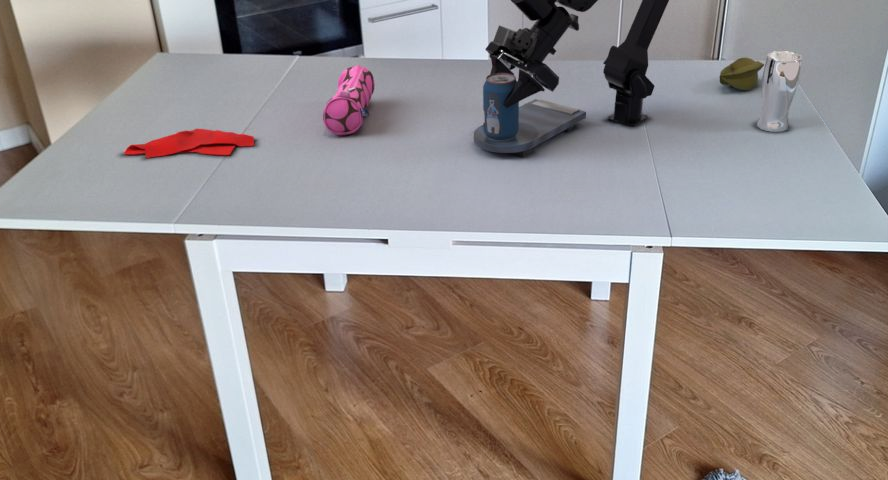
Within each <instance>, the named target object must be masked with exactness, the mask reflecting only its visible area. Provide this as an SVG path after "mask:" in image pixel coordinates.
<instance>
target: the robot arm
mask: <svg viewBox="0 0 888 480" xmlns="http://www.w3.org/2000/svg"><path fill="white" fill-rule="evenodd" d="M598 1H599V0H510V2H511V3H512V4H514V6H515V7H516V8H517V9H518V10H519V11H520V12H521V13H522V14H523V15H524V16H525V17H526V18H527V19H528V20H529V21H531V22H534V21H535V22H534V23H533V25H532V26H531V27H530V28H528V27H525V28H523V29H522V28H518V29H517V30H514V29H511V28H507V27H505V26H502V25H498V26H497V29H496V32H495V35H494V38H493V40H492V41H490V42H489V43H488V45H487V46H486V48H485V52H487V53H488V54H489V56H488V57H489V59H490V61H491V70H490V72H489V75H490V74H494V73H509V74H512V75H514V76H515V73H514V72H513V71H512V70H514V69H516V68H518V78H517V80H516V81H517V83H516V84H515V86H514V87H513V89H512V90H511V92H510V93H509V95H508V96H507V98H506V100H505V102H504V103H503V105H504V106H505V107H506V108H508V107H510V106H512V105H514V104H515V103H517V102H519V103H520V102H521V101H523V100H525V99H527V98H528V97H532V96H533V95H535V94H538V93H540V92H545V91H546V89H547V90H548V91H550V92H552V93H554V91H555V90H556V88H557V87H558V86H559V84H560V76H558V74H557V73H555V71H553V70H552V69H551V67H549V66H548V65H547V64H546V63H544V62H545V59H546V58H547V57H548V55H552V56H554V55H556V52H557V49H555V46H556V45H557V43H559V41H560V40H561V39H562V37H563V36H564V34H565V33H566V32H567V30H568V29H570V30H571V29H572V30H574V31H575V32H578V31H579V30H580V24H579V16H578V15H577V14H574V13H570V12H569V11H568V9H570V10H572V11H576V12H580V13H585V12H587V11H589V10H590V9H591V8H592V7H593V6H594V5H595V4H596V3H597V2H598ZM669 2H670V0H641V3H640V4H639V7H638V9H637V11H636V13H635V16H634V19H633V21H632V23H631V26H630V28H629V30H628V33H627V35H626V38H625V39H624V41H623V42H621V44H619V45H618V46H616V45H611V47H610V48H609V51H608V55H607V57H606V58H605V60H604V61H603V63H602V64H603V65H604V67H603V72H602V73H603V75H604V78H605V80H606V81H607V84H608V88H609V89H613V90H614V91H615V100H614V110H613V114H611V115H610V116H608V117H607V121H609V122H614V123H617V124H621V125H626V126H629V127H635V126H637V125H639V124H640V123H642V122H644V121H645V120H647V119H648V118H649V115H648V114H645V113H643V104H644V99H647V97H650V96H652V95H653V91H654V89H655V84H654V83H653V82H652V81H651V79H649V77H647V71H648V68H649V53H648V52H649V48H650V45H651V42H652V40H653V38H654V36H655V34H656V31H657V29H658V27H659V24H660V22H661V20H662V18H663V15H664V13H665V11H666V8H667V6H668V4H669ZM556 3H557V4H559V5H560V6H557V4H556ZM566 8H568V9H566Z"/></svg>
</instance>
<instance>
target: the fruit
mask: <svg viewBox="0 0 888 480" xmlns="http://www.w3.org/2000/svg"><path fill="white" fill-rule="evenodd" d="M764 67H765V64H764V63H763V62H762V61H759V60H756V61H755V60H753V59H752V58H750V57H740V58H738V59H736V60H734V61H733V62H732V63H730V64H729V65H727V66H725V67H724V68H722V70H720V72H719V73H720V75H719V84H720V85H723V86H731V87H732V88H734V89H737V90H741V91H750V90H752V89H753V88H755V87H756V86H757V83H758V80H759V74H758V73H759V72H760V70H762V69H763V68H764Z"/></svg>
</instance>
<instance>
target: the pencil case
mask: <svg viewBox="0 0 888 480" xmlns="http://www.w3.org/2000/svg"><path fill="white" fill-rule="evenodd" d="M375 86H376V85H375V77H374V75H373V73H372V72H371V70H370V69H368V68H367V67H366V66H361V65H359V64H357V65H353V66H349V67H347V68H345V69H344V70H343V71H342V72H341V74H339V78H338V81H337V90H336V93H335V95H334V96H331V98H330V99H328V101H327V102H326V103H325V106H324V108H323V113H322V121H323V124H324V126H325V128H326V129H327V131H328V132H330V133H331V134H333V135H335V136H348V135H352V134H354V133H356V132H358V131H359V130H360V129H361V127H362V125H363V123H364V117H366V116H370V111H369V109H368V108H369V105H370V101H371V99H372V96H373V94H374V91H375Z"/></svg>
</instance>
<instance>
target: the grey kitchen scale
mask: <svg viewBox="0 0 888 480" xmlns="http://www.w3.org/2000/svg"><path fill="white" fill-rule="evenodd" d="M586 118H587V111H585V110H581V109H580V108H576V107H572V106H568V105H564V104H560V103H556V102H552V101H548V100H544V99H537V98H535V99H533V100H530V101H528V102H526V103H524V104H523V105H519V130H518V132H517V134H516V136H515V137H514V138H513V139H511V140H509V141H493V140H490V139H488V137H487V136H486V134H485V133H484V130H483V124H482V125H480V126H478V127H477V128H476V129H475V130H474V131H473V143H474V144H475V146H476V147H478V148H480V149H482V150H484V151H488V152H491V153H498V154H514V155H517V156H521V157H524V156H526V155H528V154H530V153H531V149H533V148H535V147H537V146H539V145H540V144H542V143H544V142H546V141H547V140H549V139H551V138H553V137H554V136H557V135H558V134H560V133H562V132H564V131H565V132H570V131H572V130H573V129H575V125H576V124H578V123H581V122H582V121H583V120H586Z"/></svg>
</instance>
